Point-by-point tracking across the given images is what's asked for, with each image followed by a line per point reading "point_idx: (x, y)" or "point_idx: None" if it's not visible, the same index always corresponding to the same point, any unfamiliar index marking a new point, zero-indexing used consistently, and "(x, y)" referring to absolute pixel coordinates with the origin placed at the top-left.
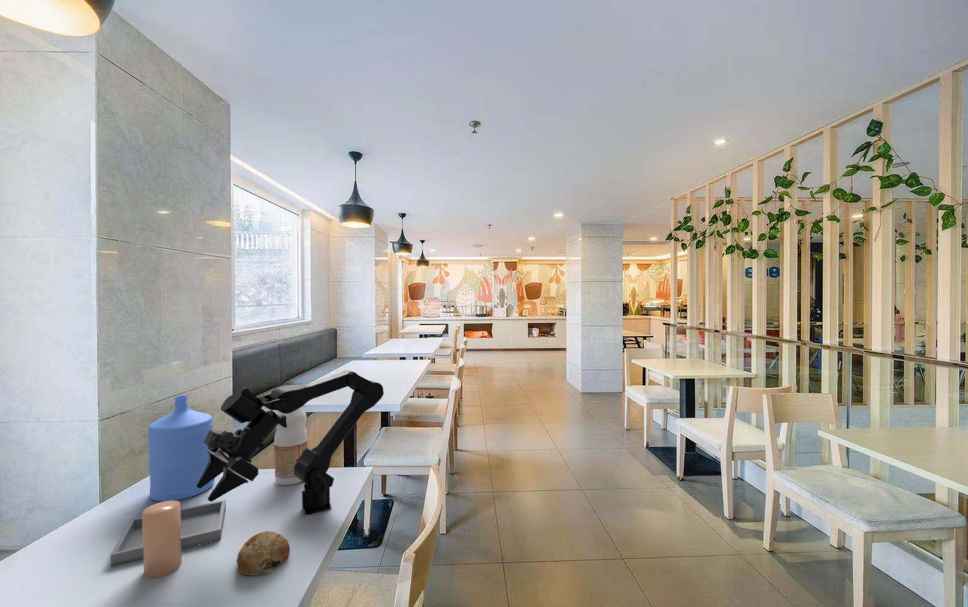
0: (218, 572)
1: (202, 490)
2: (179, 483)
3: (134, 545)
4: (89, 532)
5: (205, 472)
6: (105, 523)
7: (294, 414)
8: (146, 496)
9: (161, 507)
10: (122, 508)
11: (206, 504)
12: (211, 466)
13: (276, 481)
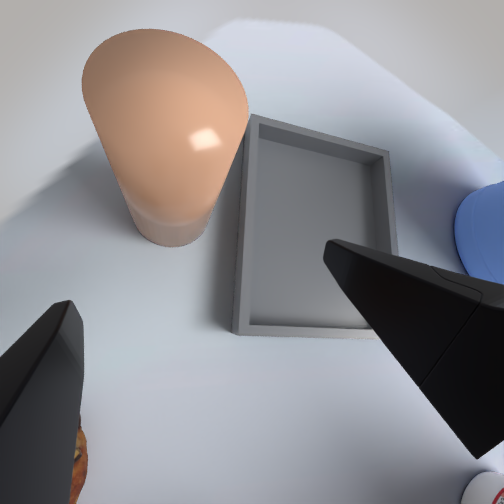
0: None
1: None
2: (500, 228)
3: (299, 163)
4: (388, 110)
5: (403, 274)
6: (409, 130)
7: None
8: None
9: (180, 95)
10: (452, 153)
11: None
12: (457, 316)
13: (482, 478)
